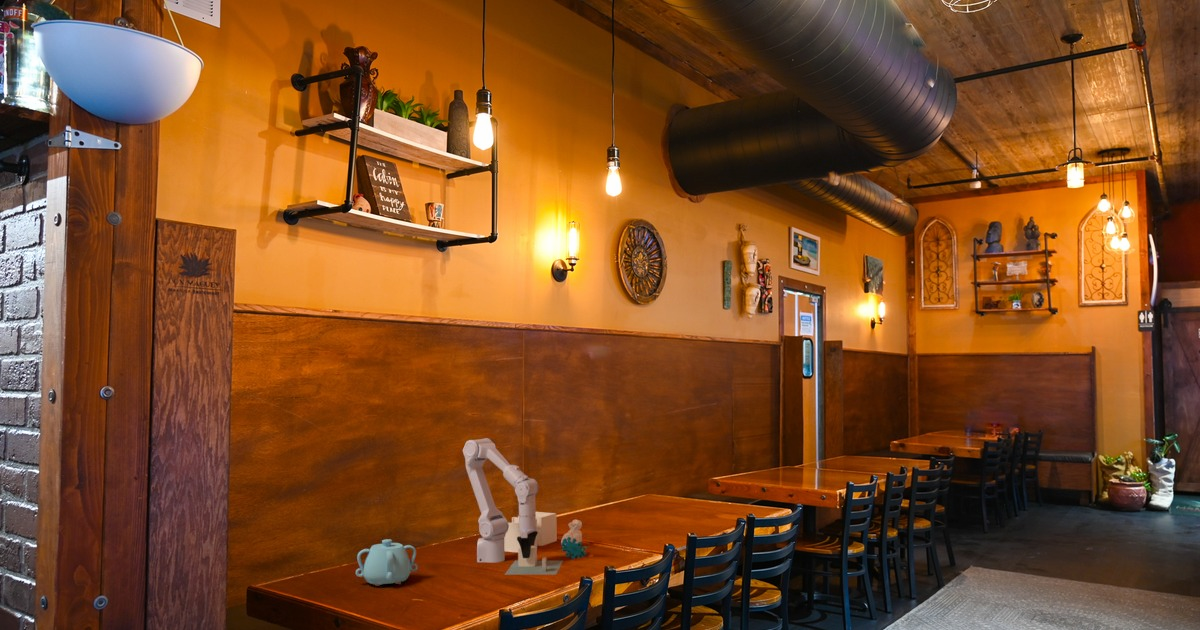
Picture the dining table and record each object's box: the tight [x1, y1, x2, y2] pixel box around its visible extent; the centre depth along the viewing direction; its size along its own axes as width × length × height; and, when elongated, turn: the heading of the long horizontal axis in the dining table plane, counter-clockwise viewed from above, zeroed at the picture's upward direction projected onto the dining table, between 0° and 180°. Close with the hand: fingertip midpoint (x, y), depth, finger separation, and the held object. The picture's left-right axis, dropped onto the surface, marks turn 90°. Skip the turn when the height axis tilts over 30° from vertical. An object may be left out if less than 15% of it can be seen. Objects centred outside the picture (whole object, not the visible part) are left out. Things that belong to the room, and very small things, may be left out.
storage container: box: [504, 511, 558, 553], centre depth 324 cm, size 25×11×11 cm, turn 151°
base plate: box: [504, 560, 564, 576], centre depth 282 cm, size 17×20×1 cm
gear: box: [560, 537, 588, 560], centre depth 299 cm, size 11×6×10 cm
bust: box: [560, 518, 583, 548], centre depth 321 cm, size 12×8×11 cm
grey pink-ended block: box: [541, 557, 548, 572], centre depth 276 cm, size 1×3×4 cm, turn 176°
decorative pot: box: [355, 538, 419, 586], centre depth 270 cm, size 16×16×14 cm
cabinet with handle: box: [517, 546, 538, 567], centre depth 286 cm, size 6×6×6 cm
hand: (527, 555), depth 286 cm, fingers open, 7 cm apart
